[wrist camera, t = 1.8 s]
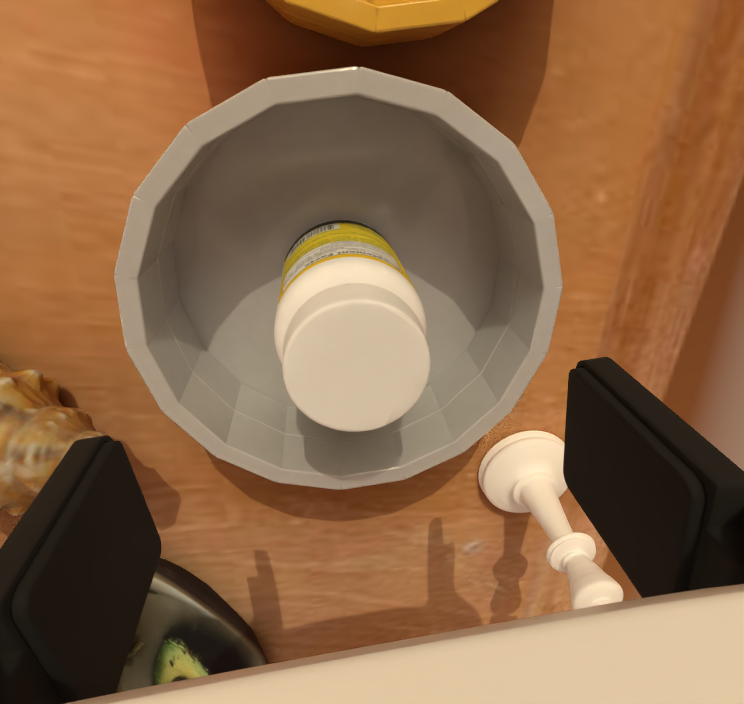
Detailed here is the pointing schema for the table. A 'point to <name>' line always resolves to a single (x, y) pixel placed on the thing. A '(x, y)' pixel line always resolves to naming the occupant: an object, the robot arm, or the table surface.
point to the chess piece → (546, 509)
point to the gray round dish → (315, 205)
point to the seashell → (33, 435)
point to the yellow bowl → (379, 18)
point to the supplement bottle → (350, 328)
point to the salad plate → (186, 633)
